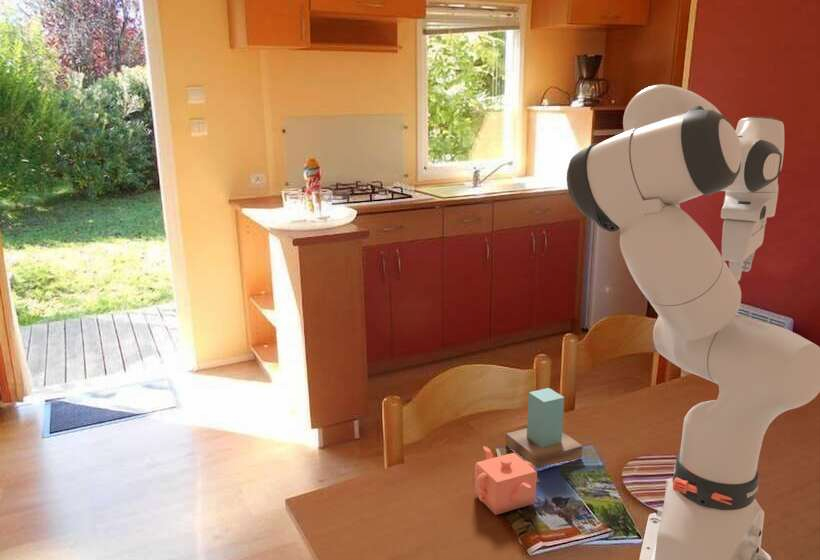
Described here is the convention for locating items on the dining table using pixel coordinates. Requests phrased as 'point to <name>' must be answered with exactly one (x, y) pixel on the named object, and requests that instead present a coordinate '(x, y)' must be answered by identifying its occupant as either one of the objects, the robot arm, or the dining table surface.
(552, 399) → the teal pillar
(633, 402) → the dining table surface
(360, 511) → the dining table surface
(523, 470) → the teapot
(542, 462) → the walnut plinth
